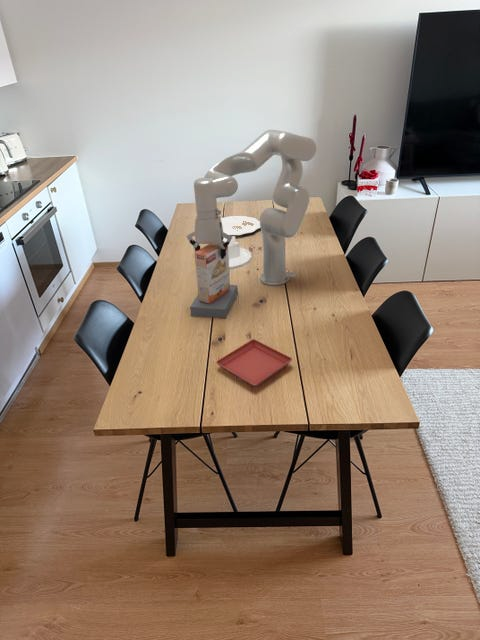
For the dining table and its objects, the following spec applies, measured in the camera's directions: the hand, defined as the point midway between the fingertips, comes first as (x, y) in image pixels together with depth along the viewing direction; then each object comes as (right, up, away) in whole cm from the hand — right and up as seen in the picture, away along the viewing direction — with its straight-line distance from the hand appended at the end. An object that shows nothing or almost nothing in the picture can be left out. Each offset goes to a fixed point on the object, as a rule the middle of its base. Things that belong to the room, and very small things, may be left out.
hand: (211, 256), depth 180 cm
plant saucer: (+16, -40, -25) cm, 50 cm away
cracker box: (+1, -14, +9) cm, 17 cm away
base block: (+1, -18, +11) cm, 21 cm away
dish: (+4, +5, +49) cm, 49 cm away
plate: (+8, +26, +82) cm, 87 cm away
